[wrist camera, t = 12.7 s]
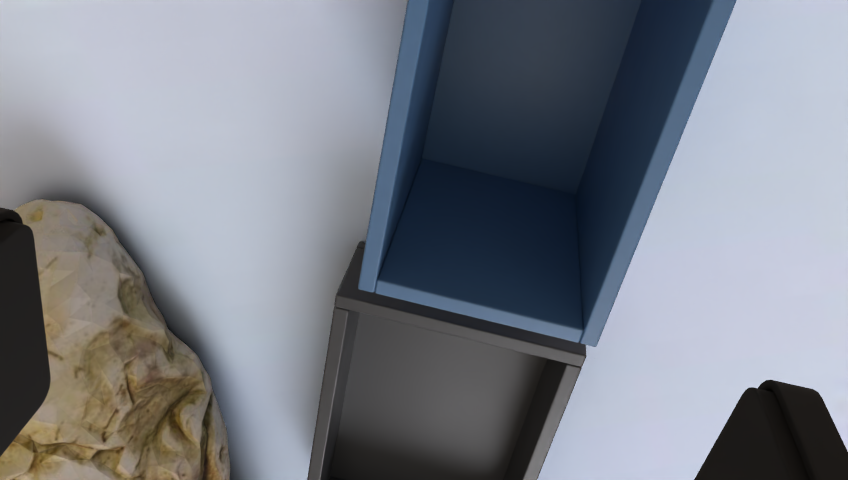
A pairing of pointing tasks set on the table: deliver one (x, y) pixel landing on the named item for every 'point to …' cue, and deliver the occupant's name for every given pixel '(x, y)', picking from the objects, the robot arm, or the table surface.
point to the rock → (110, 368)
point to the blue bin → (531, 152)
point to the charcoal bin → (435, 392)
